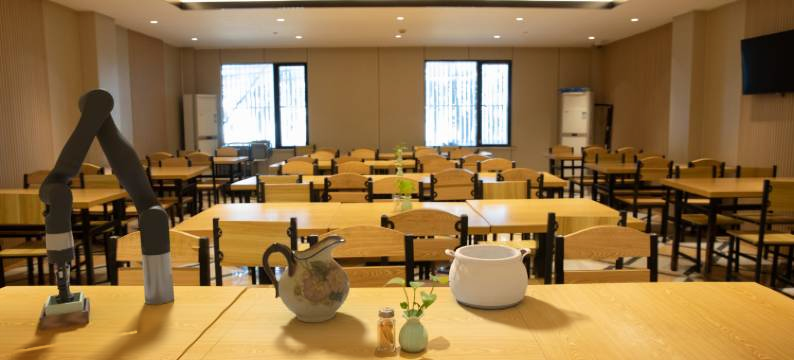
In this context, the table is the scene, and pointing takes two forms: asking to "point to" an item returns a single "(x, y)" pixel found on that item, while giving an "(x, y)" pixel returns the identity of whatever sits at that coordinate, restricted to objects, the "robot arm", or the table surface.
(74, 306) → the green crate
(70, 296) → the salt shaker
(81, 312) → the box
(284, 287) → the pitcher
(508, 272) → the pot
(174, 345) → the table surface
